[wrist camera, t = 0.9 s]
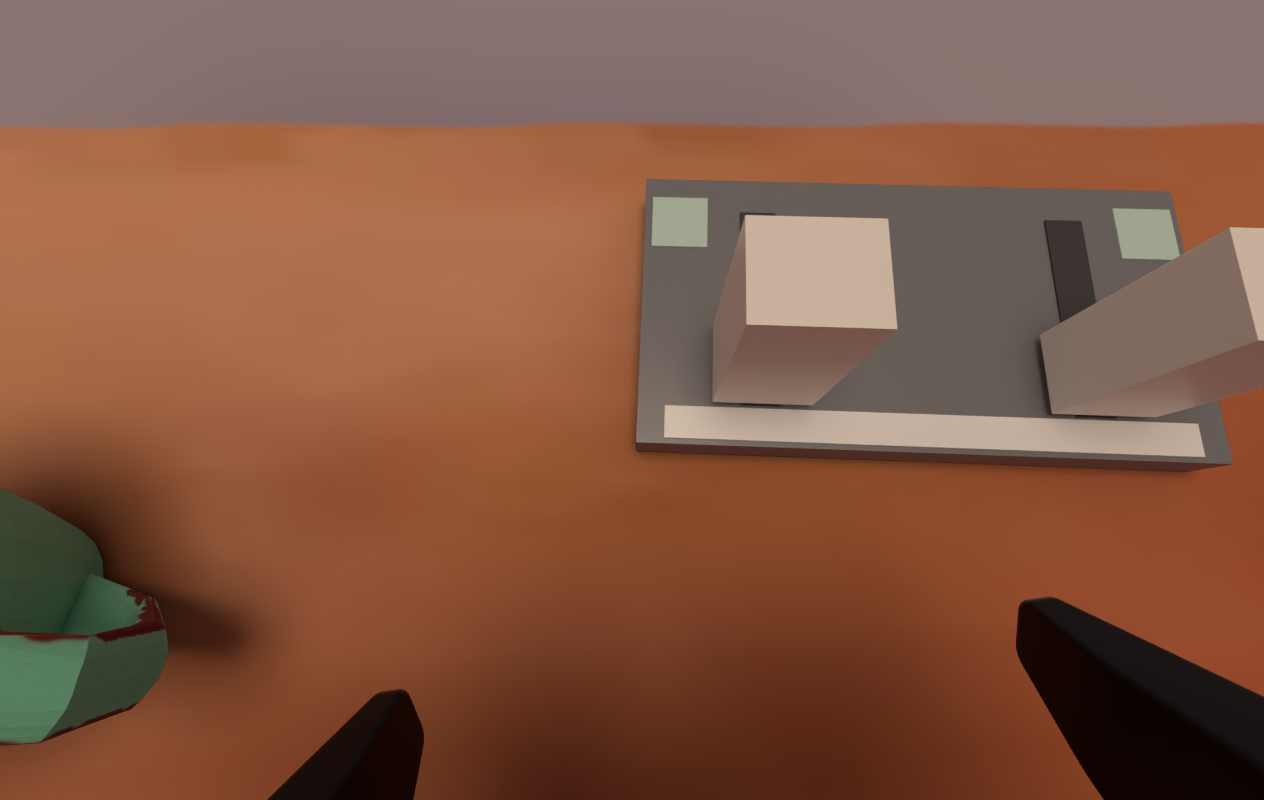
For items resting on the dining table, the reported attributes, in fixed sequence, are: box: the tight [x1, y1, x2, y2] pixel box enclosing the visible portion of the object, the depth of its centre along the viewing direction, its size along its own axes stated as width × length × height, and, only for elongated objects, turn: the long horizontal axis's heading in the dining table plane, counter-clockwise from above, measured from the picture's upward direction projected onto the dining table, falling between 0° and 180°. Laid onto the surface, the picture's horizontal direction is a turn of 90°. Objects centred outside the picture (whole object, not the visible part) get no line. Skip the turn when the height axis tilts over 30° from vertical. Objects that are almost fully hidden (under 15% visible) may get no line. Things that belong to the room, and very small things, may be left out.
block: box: [1040, 227, 1264, 417], centre depth 18 cm, size 3×4×7 cm
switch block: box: [636, 179, 1233, 472], centre depth 23 cm, size 11×21×2 cm, turn 88°
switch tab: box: [712, 215, 897, 405], centre depth 18 cm, size 3×4×7 cm
